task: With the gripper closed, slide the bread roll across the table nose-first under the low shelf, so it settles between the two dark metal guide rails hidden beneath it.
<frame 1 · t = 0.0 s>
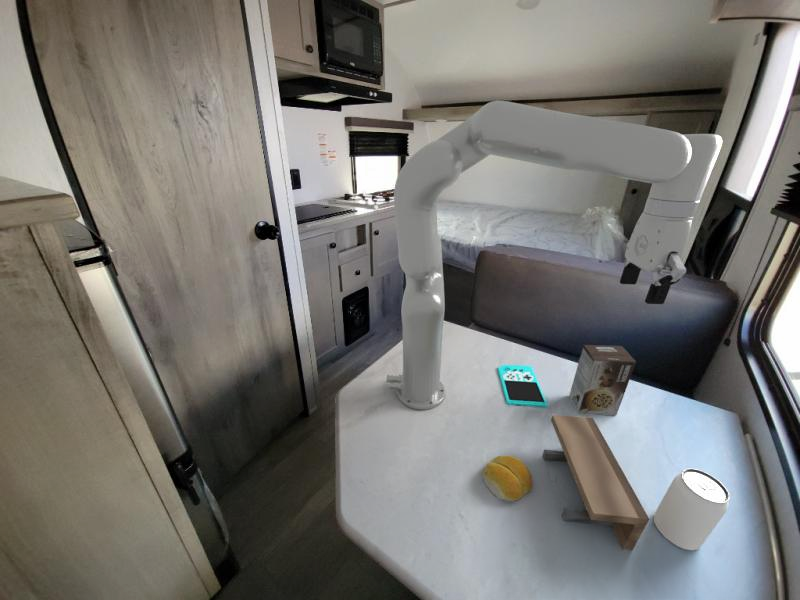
hand: (639, 292, 67), 31 cm above the table, tool pointing down, fingers open, 9 cm apart
bread roll: (506, 482, 63), on the table
handheld game console: (520, 386, 88), on the table
can: (675, 530, 55), on the table
coffee box: (591, 405, 81), on the table
overhang shelf: (581, 488, 61), on the table
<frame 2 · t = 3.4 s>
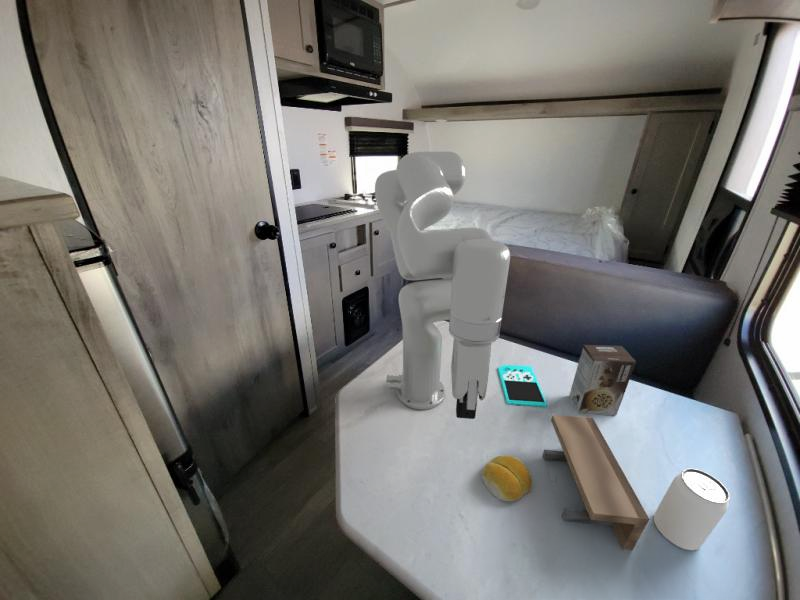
hand: (465, 414, 56), 17 cm above the table, tool pointing down, fingers closed
nothing on the table moved.
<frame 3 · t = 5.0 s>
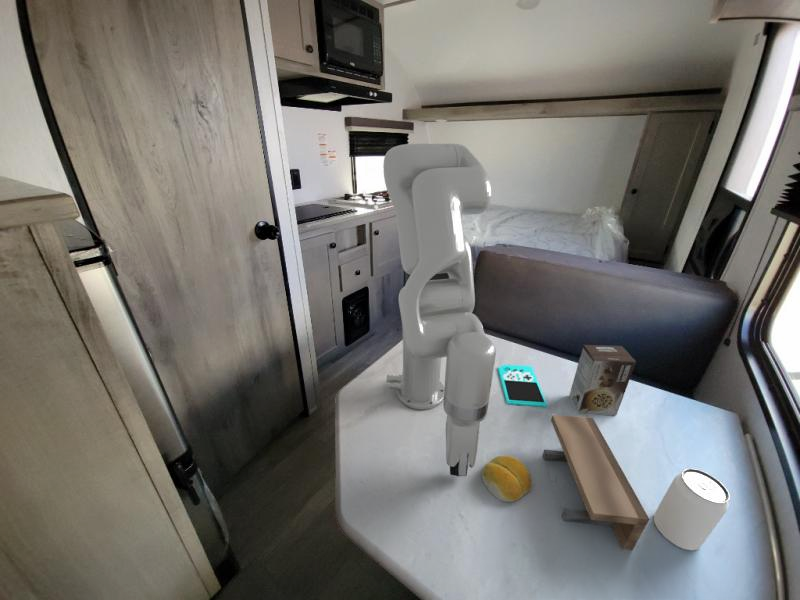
hand: (457, 471, 63), 1 cm above the table, tool pointing down, fingers closed
nothing on the table moved.
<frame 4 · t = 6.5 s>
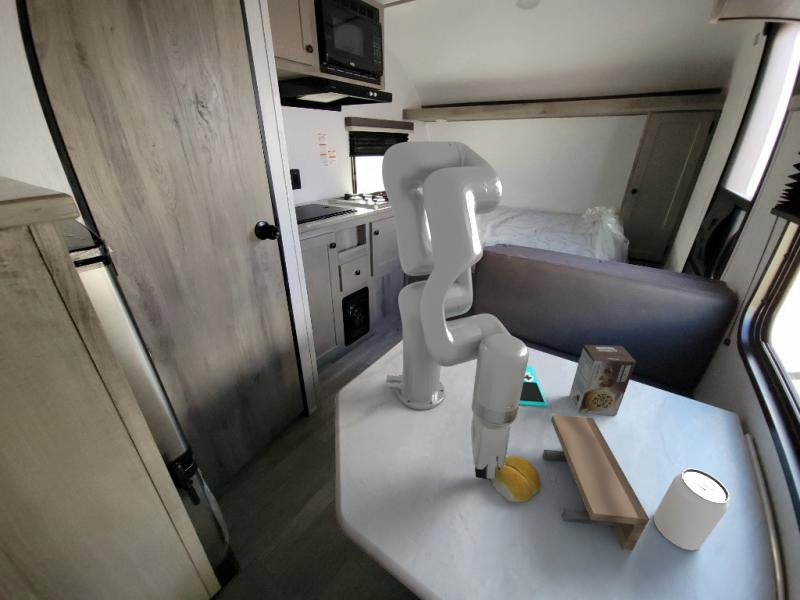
hand: (483, 474, 62), 1 cm above the table, tool pointing down, fingers closed
bread roll: (514, 483, 63), on the table, touching gripper
everything else where it was.
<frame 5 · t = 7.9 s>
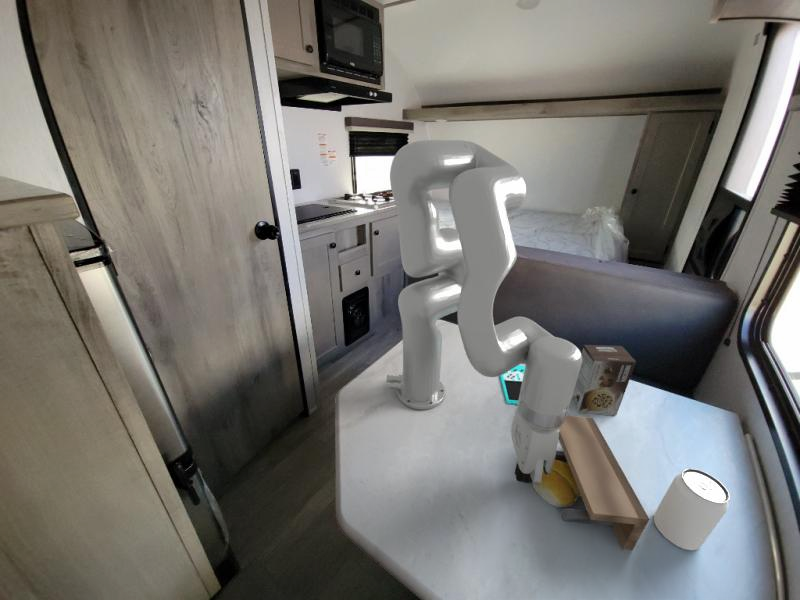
hand: (523, 478, 62), 1 cm above the table, tool pointing down, fingers closed
bread roll: (555, 487, 62), on the table
everything else where it was.
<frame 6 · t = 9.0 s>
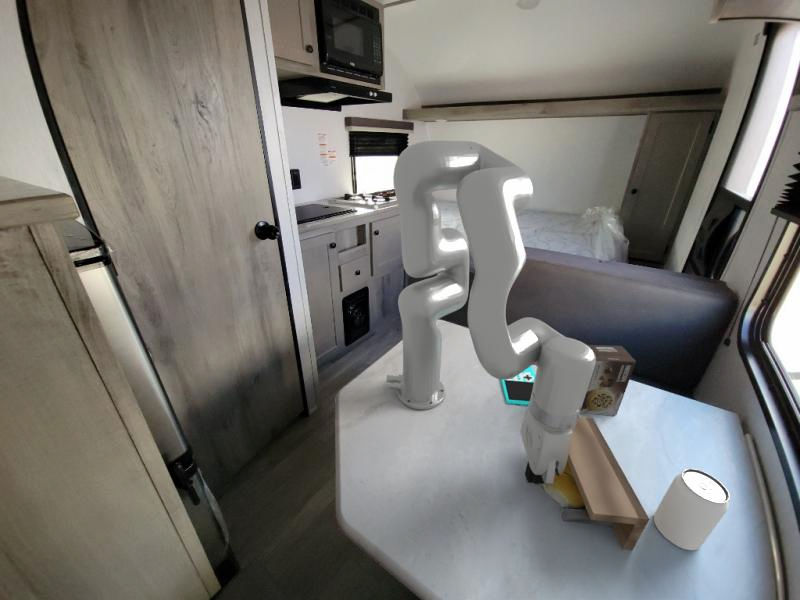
hand: (534, 479, 61), 1 cm above the table, tool pointing down, fingers closed
bread roll: (565, 488, 62), on the table
everything else where it was.
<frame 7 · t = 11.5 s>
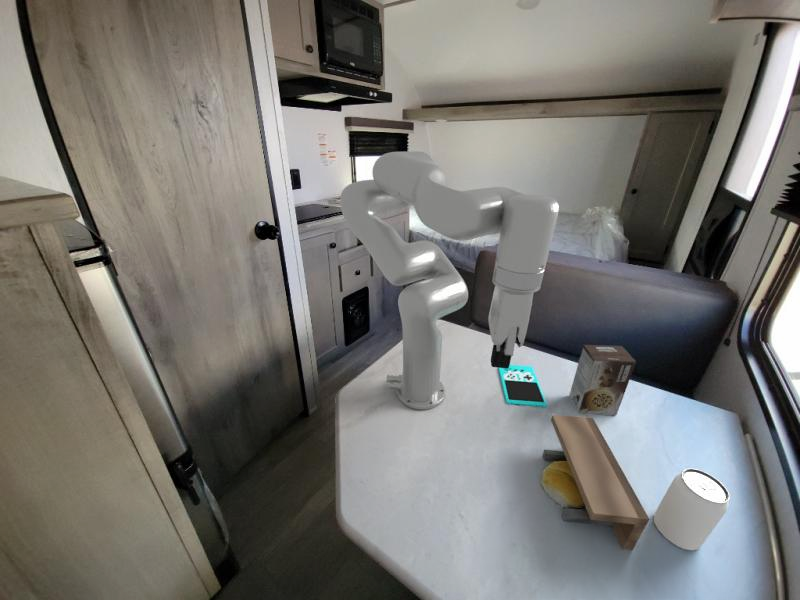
hand: (499, 364, 60), 22 cm above the table, tool pointing down, fingers closed
nothing on the table moved.
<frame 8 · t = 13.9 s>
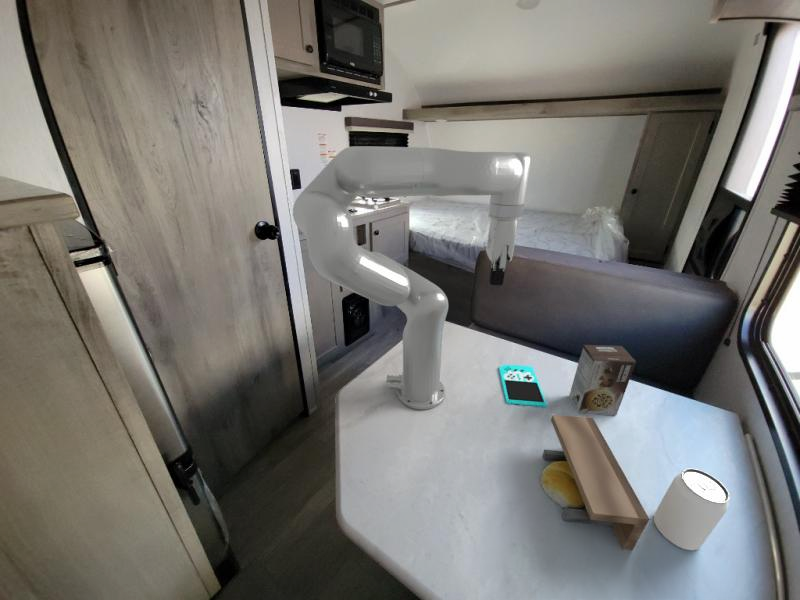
hand: (495, 283, 82), 27 cm above the table, tool pointing down, fingers closed
nothing on the table moved.
at the end: bread roll 0.5 cm from the target spot, on the table; bread roll moved 11.0 cm from its start; the gripper is holding nothing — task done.
